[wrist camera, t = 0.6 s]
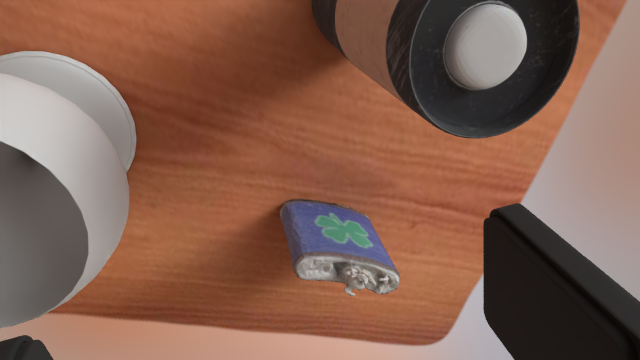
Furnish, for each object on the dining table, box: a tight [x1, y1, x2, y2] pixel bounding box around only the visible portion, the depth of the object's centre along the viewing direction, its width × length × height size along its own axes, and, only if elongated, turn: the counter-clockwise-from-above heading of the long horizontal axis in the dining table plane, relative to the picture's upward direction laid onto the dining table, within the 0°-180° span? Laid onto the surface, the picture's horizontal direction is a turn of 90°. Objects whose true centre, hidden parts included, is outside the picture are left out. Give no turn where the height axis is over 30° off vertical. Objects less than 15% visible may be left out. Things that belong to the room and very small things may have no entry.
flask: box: [280, 199, 400, 296], centre depth 39 cm, size 9×3×11 cm, turn 69°
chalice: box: [0, 51, 137, 328], centre depth 29 cm, size 14×14×15 cm
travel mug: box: [312, 0, 580, 138], centre depth 27 cm, size 8×8×20 cm
